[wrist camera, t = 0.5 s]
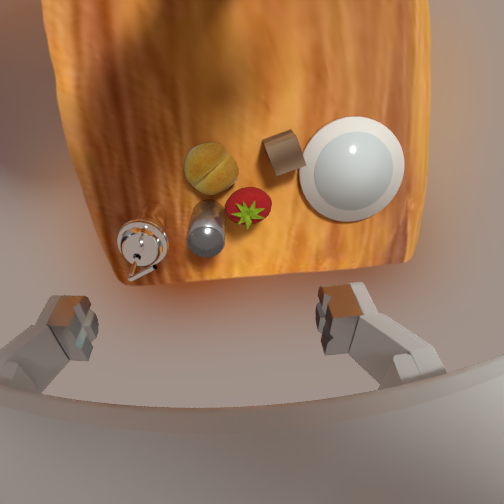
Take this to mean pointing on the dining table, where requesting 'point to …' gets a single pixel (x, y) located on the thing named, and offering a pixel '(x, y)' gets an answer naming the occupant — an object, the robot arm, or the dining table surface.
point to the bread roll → (210, 168)
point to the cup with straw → (144, 240)
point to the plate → (351, 168)
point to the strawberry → (248, 206)
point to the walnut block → (284, 152)
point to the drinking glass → (207, 229)
